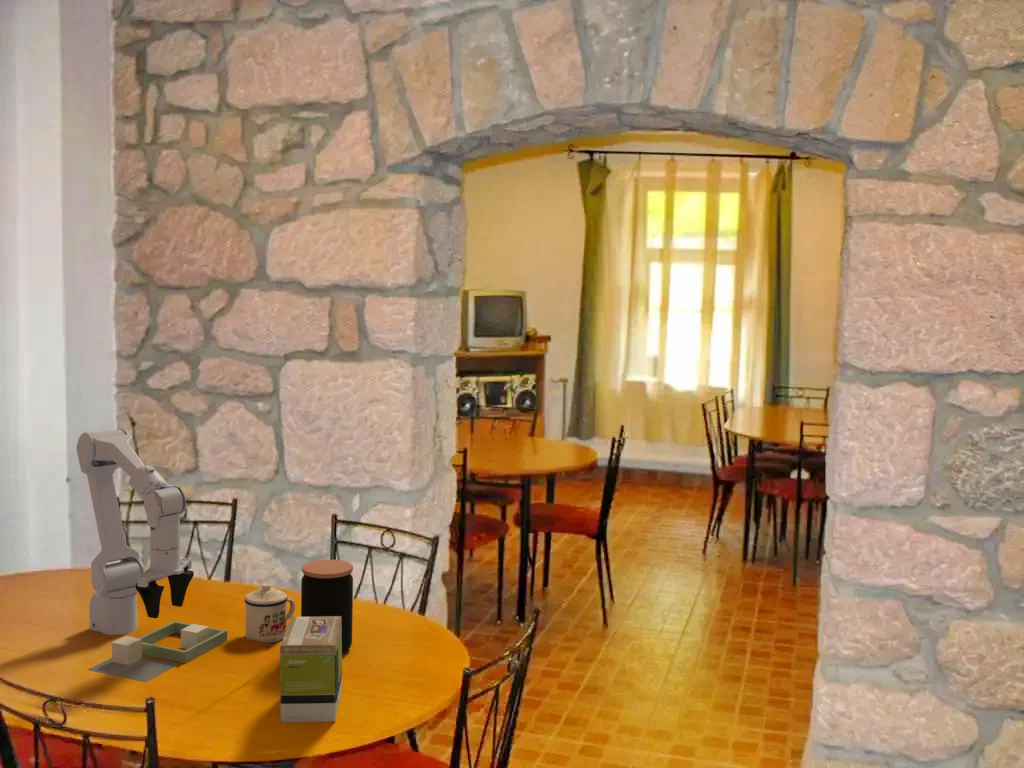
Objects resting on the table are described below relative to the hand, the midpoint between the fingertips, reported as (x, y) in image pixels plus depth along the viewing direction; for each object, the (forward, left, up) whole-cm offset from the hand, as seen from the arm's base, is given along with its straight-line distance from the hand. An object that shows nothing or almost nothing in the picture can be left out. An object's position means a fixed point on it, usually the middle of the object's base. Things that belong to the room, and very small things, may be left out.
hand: (165, 611), depth 210 cm
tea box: (+40, -8, -10) cm, 42 cm away
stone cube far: (+3, +5, -9) cm, 11 cm away
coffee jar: (+28, +17, -10) cm, 34 cm away
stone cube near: (-4, -7, -9) cm, 12 cm away
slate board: (0, -9, -9) cm, 13 cm away
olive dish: (+1, +4, -9) cm, 10 cm away
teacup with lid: (+13, +19, -10) cm, 25 cm away
